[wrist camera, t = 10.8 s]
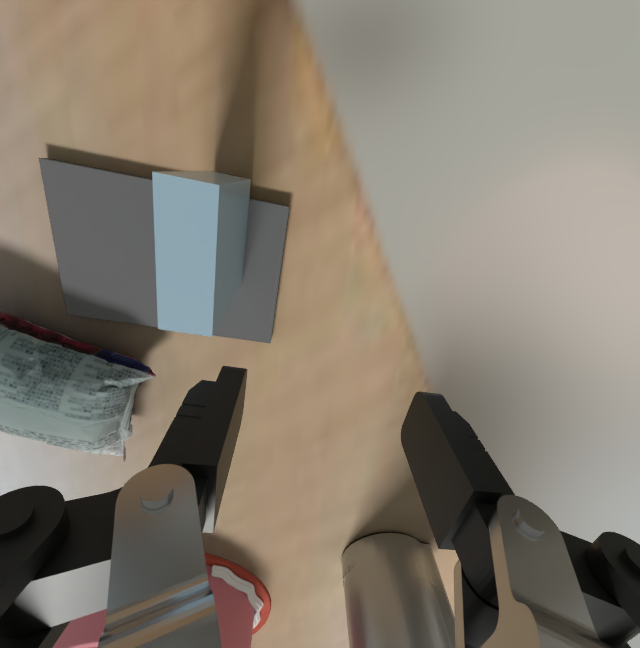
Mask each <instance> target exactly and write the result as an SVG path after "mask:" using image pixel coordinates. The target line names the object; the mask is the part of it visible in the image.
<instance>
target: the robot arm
mask: <svg viewBox="0 0 640 648" xmlns="http://www.w3.org/2000/svg"><path fill="white" fill-rule="evenodd" d="M246 379H247V369H244V368H236V367H229V366H223V367H222V369H221V371H220V373H219V376H218V378H217V380H216V382H214V381H206V380H201V381H200V382H199V383H198V384H196V385H195V386H194V387H193V388H191V389H190V390H189V391H188V393H187V395H186V397H185V399H184V401H183V403H182V406H180V408H179V410H178V412H177V414H176V417H175V418H174V420H173V422H172V424H171V425H170V427H169V429H168V431H167V433H166V435H165V437H164V439H163V441H162V443H161V444H160V446H159V448H158V450H157V452H156V454H155V456H154V458H153V460H152V462H151V463H150V465H149V466H148V468H146V469H144V470H142V471H140V472H139V473H137V474H136V475H134V476H133V477H132V478H131V479H130V480H128V481H127V482H126V484H125V485H124V486H123V487H122V488H119V489H117V490H114V491H111V492H108V493H104V494H99V495H94V496H89V497H84V498H79V499H74V500H69V501H65V500H64V498H63V495H62V494H61V493H60V492H59V491H58V490H56V489H54V488H52V487H48V486H30V487H25V488H20V489H17V490H14V491H11V492H8V493H6V494H4V495H1V496H0V648H52V647H53V646H54V645H55V643H56V642H57V640H58V639H59V637H60V636H61V634H62V633H63V631H64V630H65V628H66V627H67V625H68V624H69V622H70V621H71V620H74V619H77V618H80V617H83V616H86V615H89V614H92V613H95V612H98V611H101V610H104V609H107V612H106V621H105V627H104V631H103V633H102V635H101V636H100V639H99V642H98V647H97V648H222V645H221V638H220V631H219V625H218V618H217V611H216V605H215V600H214V596H213V592H212V589H210V586H209V582H208V576H207V569H206V562H205V555H204V547H203V540H202V532H206V533H213V532H214V528H215V524H216V520H217V516H218V512H219V508H220V504H221V500H222V496H223V492H224V488H225V484H226V480H227V476H228V472H229V469H230V465H231V461H232V457H233V453H234V449H235V445H236V441H237V437H238V433H239V429H240V425H241V420H242V414H243V407H244V398H245V388H246ZM401 442H402V446H403V449H404V452H405V455H406V457H407V460H408V463H409V466H410V469H411V472H412V474H413V477H414V480H415V483H416V486H417V489H418V492H419V494H420V497H421V500H422V503H423V506H424V509H425V511H426V514H427V517H428V520H429V523H430V526H431V528H432V531H433V534H434V537H435V540H436V543H437V545H438V548H439V549H449V550H456V553H457V555H458V558H459V560H458V561H457V563H456V564H455V567H454V605H455V618H454V615H453V612H452V609H451V606H450V603H449V600H448V597H447V594H446V591H445V588H444V585H443V582H442V579H441V576H440V573H439V570H438V567H437V564H436V561H435V558H434V555H433V552H432V549H431V546H430V544H423V543H420V542H419V541H417V540H416V539H415V538H412V537H410V536H408V535H404V534H399V533H381V534H375V535H371V536H368V537H364V538H362V539H360V540H358V541H356V542H354V543H353V544H352V545H350V546H349V547H348V548H347V549H346V550H345V552H344V554H343V556H342V571H343V586H344V592H345V603H346V614H347V625H348V636H349V646H350V648H631V647H630V646H629V645H628V643H627V642H628V641H629V640H630V639H632V638H633V637H635V636H636V635H637V634H638V633H640V545H639V544H638V543H636V542H634V541H633V540H631V539H629V538H627V537H625V536H623V535H621V534H618V533H614V532H604V533H602V534H601V535H600V536H599V537H598V538H597V539H596V540H595V541H594V542H593V543H590V542H588V541H585V540H583V539H580V538H578V537H575V536H572V535H570V534H567V533H565V532H562V531H560V530H559V529H558V527H557V526H556V524H555V523H554V522H553V521H552V520H551V518H550V517H549V516H548V515H547V514H546V513H545V512H544V511H543V510H541V509H540V508H539V507H538V506H536V505H535V504H533V503H532V502H530V501H528V500H526V499H524V498H522V497H519V496H515V494H514V493H513V491H512V490H511V488H510V487H509V485H508V483H507V482H506V480H505V479H504V477H503V476H502V474H501V473H500V471H499V469H498V468H497V466H496V465H495V463H494V462H493V460H492V459H491V457H490V455H489V454H488V452H486V451H485V448H484V446H483V445H482V443H481V442H480V440H478V437H477V435H476V434H475V432H474V431H473V429H472V428H471V426H470V424H469V423H468V422H466V421H465V420H464V419H463V418H462V417H461V416H460V415H459V414H458V413H457V412H455V411H452V410H451V408H450V406H449V405H448V403H447V401H446V400H445V398H444V397H443V396H442V395H441V394H434V393H427V392H417V393H416V394H415V395H414V398H413V400H412V403H411V405H410V408H409V410H408V413H407V415H406V418H405V420H404V423H403V425H402V429H401Z"/></svg>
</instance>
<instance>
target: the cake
mask: <svg viewBox="0 0 640 648" xmlns="http://www.w3.org/2000/svg"><path fill="white" fill-rule="evenodd" d="M204 555H205V562H206V569H207V576H208V582H209V586H210V589H212V592H213V596H214V600H215V605H216V611H217V618H218V625H219V631H220V638H221V645H222V648H251V639H252V635H253V634H254V633H256V632H257V631H258V630H259V629H260V628H261V627H262V626H263V625H264V624H265V622H266V621H267V619H268V617H269V614H270V609H271V599H270V595H269V593H268V591H267V589H266V588H265V586H264V585H263V584H262V582H261V581H260V580H259V579H258V578H256V577H255V576H254V575H253V574H252V573H250V572H249V571H247V570H246V569H244V568H242V567H240V566H239V565H237V564H235V563H232V562H230V561H228V560H225V559H223V558H220V557H217V556H214V555H210V554H207V553H204ZM106 612H107V609H104V610H101V611H98V612H95V613H92V614H89V615H86V616H83V617H80V618H77V619H74V620H71V621H70V622H69V624H68V625H67V627H66V628H65V630H64V631H63V633H62V634H61V636H60V637H59V639H58V640H57V642H56V643H55V645H54V646H53V647H52V648H97V647H98V642H99V639H100V636H101V635H102V633H103V631H104V627H105V621H106Z"/></svg>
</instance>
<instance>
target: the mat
mask: <svg viewBox="0 0 640 648" xmlns="http://www.w3.org/2000/svg"><path fill="white" fill-rule="evenodd" d="M39 162H40V167H41V173H42V179H43V184H44V190H45V195H46V201H47V206H48V212H49V218H50V223H51V229H52V234H53V240H54V245H55V251H56V257H57V262H58V268H59V273H60V279H61V284H62V290H63V296H64V301H65V307H66V312H67V315H73V316H81V317H88V318H95V319H102V320H109V321H116V322H123V323H130V324H137V325H144V326H151V327H158V315H157V288H156V262H155V235H154V208H153V182H152V179H149V178H144V177H139V176H134V175H129V174H124V173H119V172H114V171H109V170H104V169H98V168H93V167H88V166H83V165H78V164H73V163H68V162H63V161H58V160H53V159H48V158H39ZM289 207H290V206H287V205H282V204H277V203H272V202H267V201H261V200H256V199H251V198H249V208H248V219H247V231H246V242H245V254H244V265H243V276H242V284H241V286H240V287H239V289H238V291H237V293H236V295H235V296H234V298H233V300H232V302H231V304H230V305H229V307H228V309H227V311H226V313H225V315H224V316H223V318H222V320H221V322H220V324H219V325H218V327H217V329H216V331H215V333H214V334H213V335H215V336H222V337H229V338H236V339H243V340H250V341H257V342H264V343H270V342H271V336H272V329H273V322H274V315H275V308H276V301H277V293H278V286H279V279H280V272H281V265H282V257H283V250H284V243H285V236H286V229H287V221H288V214H289Z"/></svg>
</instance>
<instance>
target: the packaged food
mask: <svg viewBox="0 0 640 648" xmlns="http://www.w3.org/2000/svg"><path fill="white" fill-rule="evenodd" d="M152 377H156V375H155V374H154V373H153V372H152V370H151V369H150V368H149V367H147V366H145V365H143V364H142V363H141V362H139V361H138V360H136V359H134V358H132V357H129V356H126V355H122V354H119V353H116V352H112V351H109V350H105V349H102V348H99V347H96V346H93V345H91V344H86V343H83V342H80V341H76V340H73V339H71V338H69V337H67V336H65V335H63V334H60V333H57V332H54V331H52V330H49V329H46V328H43V327H41V326H38V325H35V324H33V323H31V322H28V321H26V320H23V319H20V318H17V317H14V316H11V315H8V314H6V313H3V312H1V311H0V431H2V432H5V433H8V434H12V435H16V436H21V437H25V438H30V439H34V440H38V441H42V442H46V443H47V444H50V445H55V446H60V447H64V448H68V449H73V450H77V451H82V452H90V453H93V454H99V455H100V454H104V455H105V454H110V455H116V456H123V459H124V461H125V459H126V448H125V446H124V440H128V439H129V438H130V437H131V435H132V425H130V422H131V415H132V414H133V408H134V405H133V404H134V393H135V391H136V389H137V386H138V384H139V383H140V382H143V381H145V380H147V379H149V378H152Z"/></svg>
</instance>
